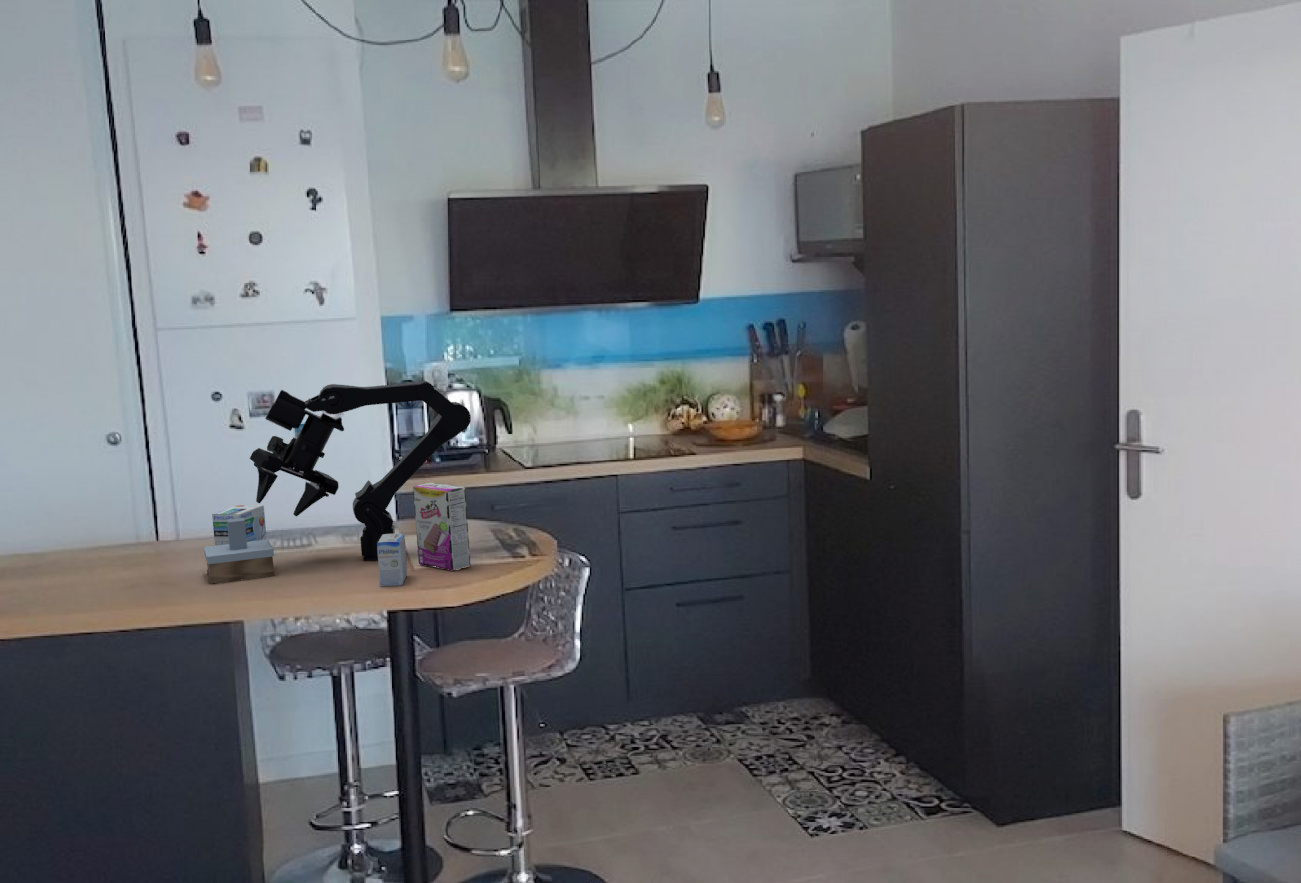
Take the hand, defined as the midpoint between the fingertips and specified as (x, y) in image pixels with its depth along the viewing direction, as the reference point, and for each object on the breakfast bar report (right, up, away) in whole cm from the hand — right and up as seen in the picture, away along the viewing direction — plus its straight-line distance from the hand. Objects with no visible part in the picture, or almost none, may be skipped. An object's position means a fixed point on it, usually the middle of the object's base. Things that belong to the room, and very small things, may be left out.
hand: (276, 509), depth 263 cm
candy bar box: (+35, -11, -5) cm, 37 cm away
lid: (-6, -9, -4) cm, 12 cm away
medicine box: (+27, -13, -15) cm, 34 cm away
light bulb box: (-11, -11, +12) cm, 20 cm away
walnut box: (-6, -13, -4) cm, 15 cm away
